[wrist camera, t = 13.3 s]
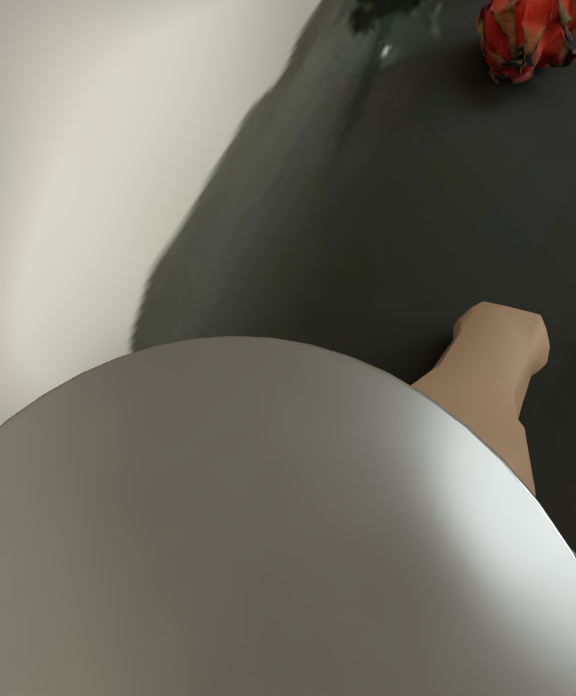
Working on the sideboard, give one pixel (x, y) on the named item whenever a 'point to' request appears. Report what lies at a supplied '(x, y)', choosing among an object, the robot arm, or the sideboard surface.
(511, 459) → the squash
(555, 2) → the dragon fruit
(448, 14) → the sideboard surface
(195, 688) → the tin
